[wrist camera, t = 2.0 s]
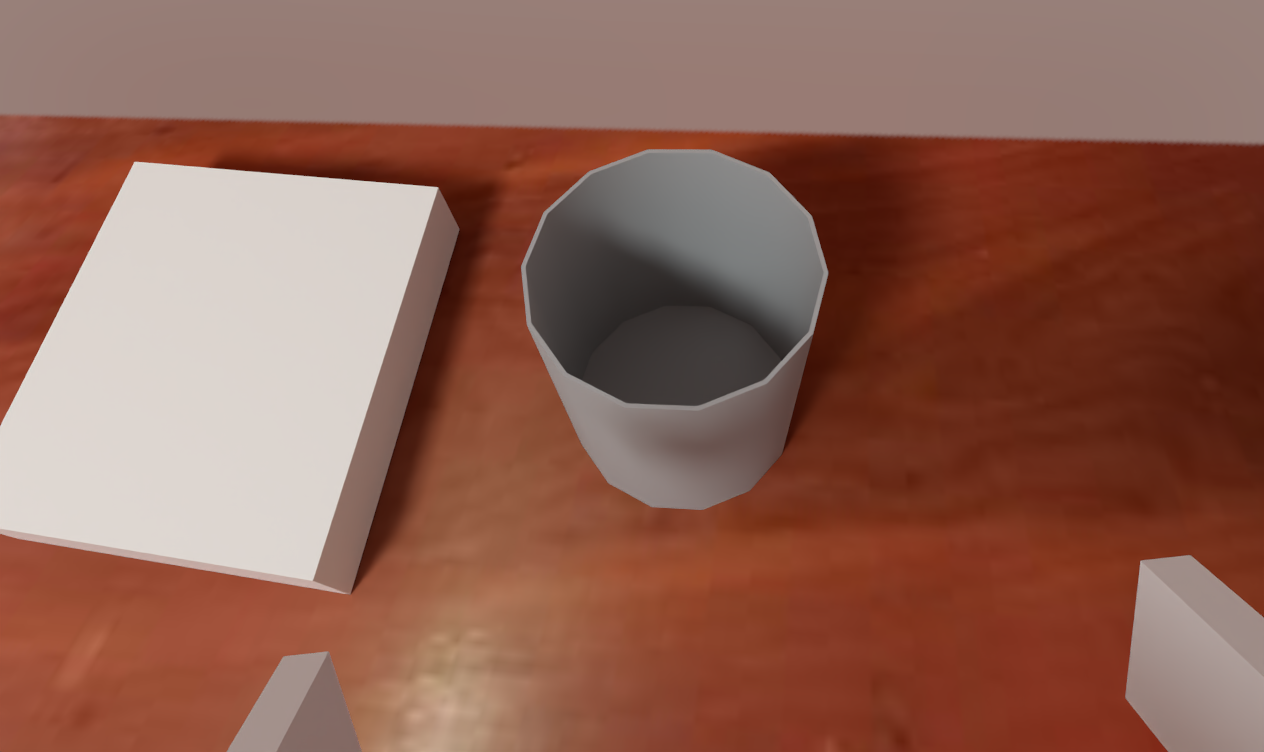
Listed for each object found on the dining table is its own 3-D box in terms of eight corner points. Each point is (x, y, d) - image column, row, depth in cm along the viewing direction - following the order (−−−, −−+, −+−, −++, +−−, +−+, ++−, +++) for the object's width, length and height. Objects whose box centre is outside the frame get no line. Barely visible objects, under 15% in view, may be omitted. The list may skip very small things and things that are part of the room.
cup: (837, 429, 30) (892, 298, 21) (658, 555, 29) (633, 474, 19) (704, 275, 33) (702, 103, 24) (538, 381, 32) (469, 243, 23)
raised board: (459, 229, 35) (438, 187, 32) (350, 594, 29) (312, 580, 26) (177, 203, 37) (135, 162, 34) (19, 538, 31) (-48, 520, 28)
